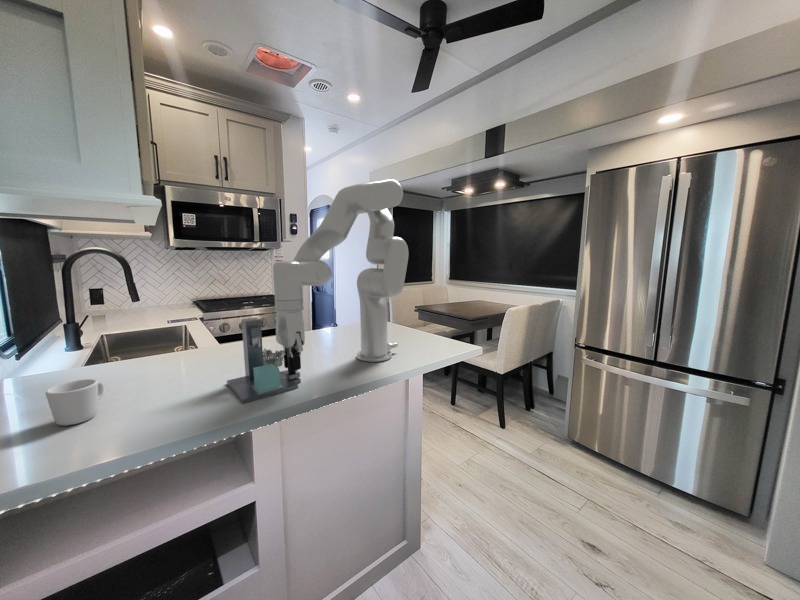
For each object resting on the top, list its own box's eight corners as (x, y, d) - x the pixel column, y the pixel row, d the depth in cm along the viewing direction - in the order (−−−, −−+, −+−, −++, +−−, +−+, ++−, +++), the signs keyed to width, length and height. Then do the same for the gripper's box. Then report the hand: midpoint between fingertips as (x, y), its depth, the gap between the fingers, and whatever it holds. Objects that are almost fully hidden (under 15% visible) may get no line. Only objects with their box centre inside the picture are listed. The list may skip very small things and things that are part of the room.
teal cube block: (273, 380, 88) (272, 363, 87) (280, 386, 84) (279, 368, 84) (254, 385, 85) (253, 367, 84) (260, 391, 81) (259, 373, 80)
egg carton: (264, 358, 112) (264, 347, 112) (287, 357, 114) (286, 346, 113) (257, 369, 102) (256, 356, 101) (282, 367, 103) (281, 355, 103)
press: (283, 370, 100) (280, 314, 97) (305, 385, 88) (302, 322, 86) (226, 383, 89) (221, 321, 87) (243, 403, 77) (237, 332, 75)
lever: (295, 374, 93) (294, 340, 92) (300, 376, 91) (298, 342, 90) (285, 376, 91) (284, 342, 90) (290, 379, 89) (288, 344, 88)
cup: (86, 406, 76) (81, 374, 75) (121, 405, 77) (117, 373, 76) (39, 430, 66) (33, 394, 65) (80, 429, 66) (74, 392, 65)
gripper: (265, 303, 92) (269, 364, 94) (287, 310, 80) (291, 380, 82) (291, 301, 97) (293, 358, 99) (315, 307, 85) (317, 373, 87)
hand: (292, 367), depth 91 cm, fingers closed on lever, 2 cm apart
